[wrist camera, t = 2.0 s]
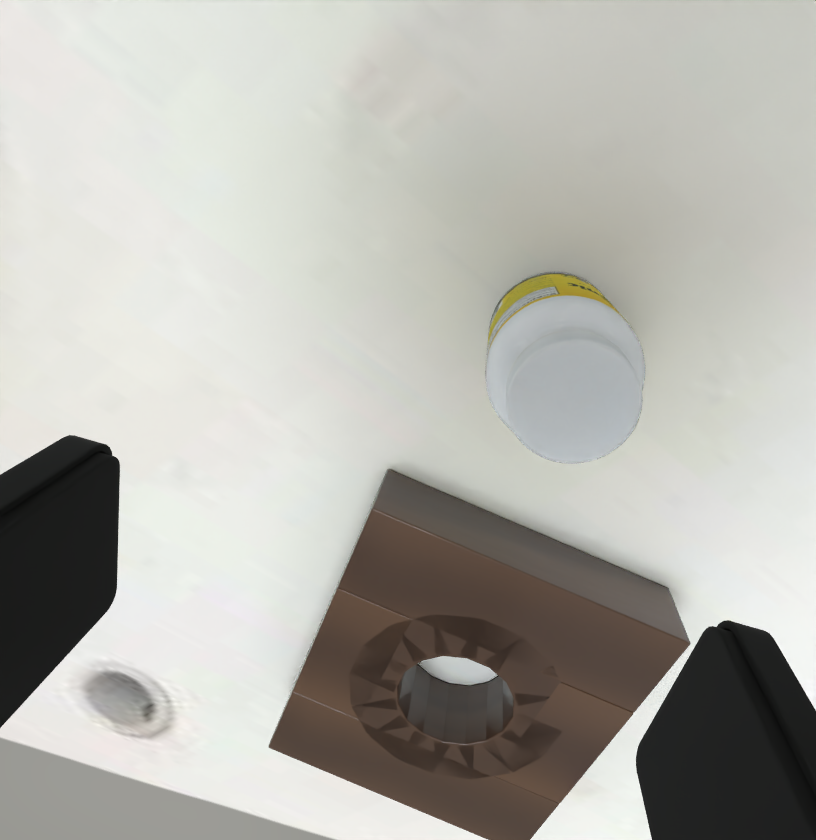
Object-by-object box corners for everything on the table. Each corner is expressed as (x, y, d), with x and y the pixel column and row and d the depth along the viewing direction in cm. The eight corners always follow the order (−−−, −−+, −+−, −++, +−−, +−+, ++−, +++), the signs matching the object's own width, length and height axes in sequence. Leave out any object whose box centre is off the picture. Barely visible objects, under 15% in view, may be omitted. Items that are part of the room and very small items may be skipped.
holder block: (387, 468, 30) (371, 507, 27) (669, 588, 31) (691, 643, 27) (290, 692, 38) (267, 747, 34) (518, 788, 38) (519, 853, 34)
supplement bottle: (634, 348, 26) (700, 436, 17) (526, 406, 28) (537, 513, 19) (574, 243, 25) (613, 280, 16) (466, 311, 27) (447, 378, 18)
